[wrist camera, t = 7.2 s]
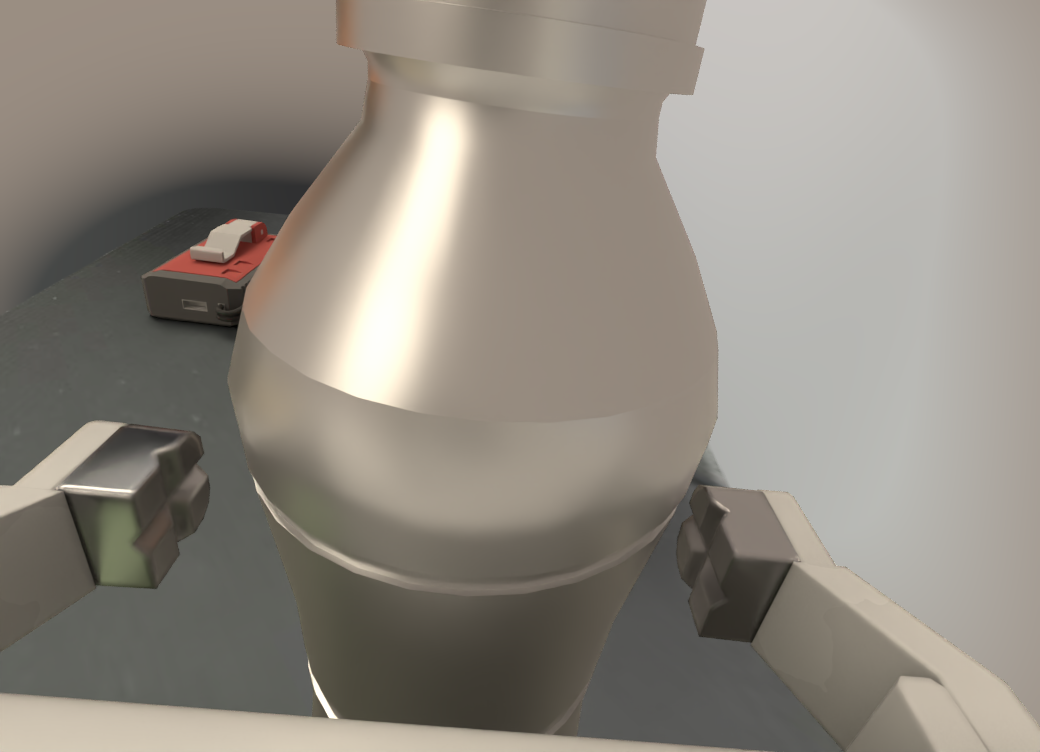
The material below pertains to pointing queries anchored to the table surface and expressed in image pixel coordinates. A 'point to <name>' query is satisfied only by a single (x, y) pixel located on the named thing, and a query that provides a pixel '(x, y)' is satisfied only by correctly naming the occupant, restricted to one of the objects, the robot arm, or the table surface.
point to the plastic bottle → (480, 358)
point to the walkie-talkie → (209, 275)
